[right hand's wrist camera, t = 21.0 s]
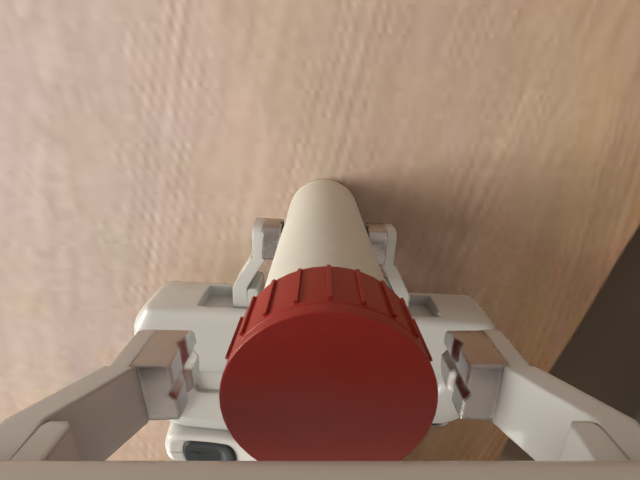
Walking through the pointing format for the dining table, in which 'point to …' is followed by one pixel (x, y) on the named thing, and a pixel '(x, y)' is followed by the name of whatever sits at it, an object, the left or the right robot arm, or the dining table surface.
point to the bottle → (324, 233)
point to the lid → (328, 371)
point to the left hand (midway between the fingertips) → (324, 223)
